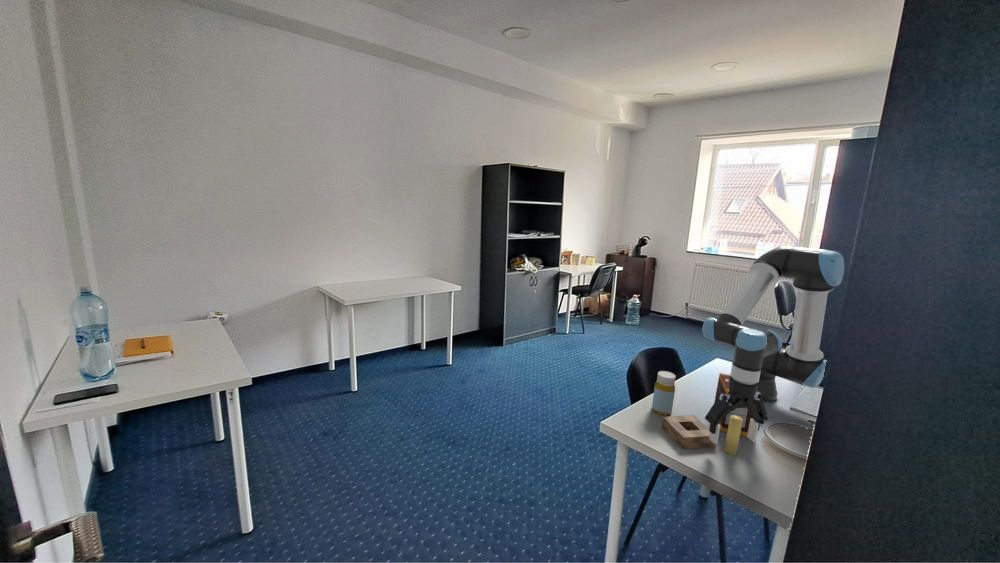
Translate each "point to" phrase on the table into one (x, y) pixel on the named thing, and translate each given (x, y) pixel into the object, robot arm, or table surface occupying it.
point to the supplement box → (739, 412)
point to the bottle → (664, 393)
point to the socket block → (687, 431)
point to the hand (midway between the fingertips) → (732, 440)
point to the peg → (733, 434)
